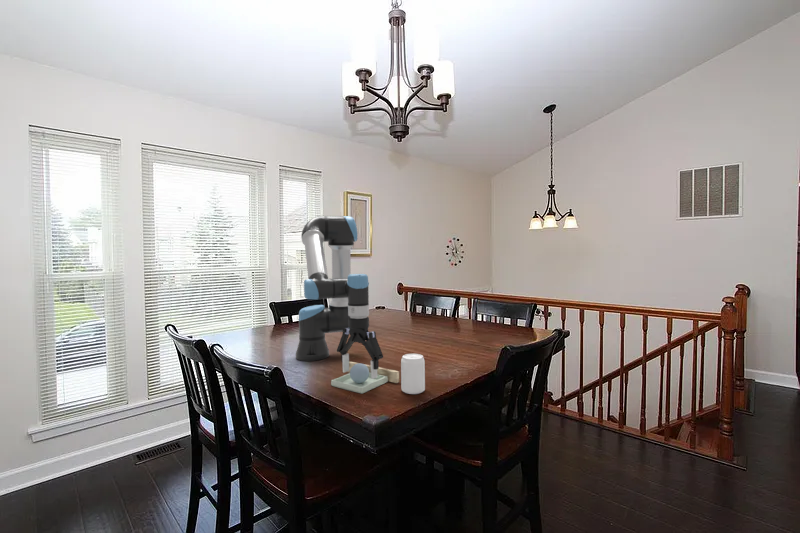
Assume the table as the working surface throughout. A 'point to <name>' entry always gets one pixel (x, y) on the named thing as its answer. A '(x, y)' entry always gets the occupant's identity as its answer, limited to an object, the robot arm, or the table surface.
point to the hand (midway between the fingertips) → (359, 374)
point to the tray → (361, 388)
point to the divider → (381, 372)
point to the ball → (359, 373)
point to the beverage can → (412, 373)
